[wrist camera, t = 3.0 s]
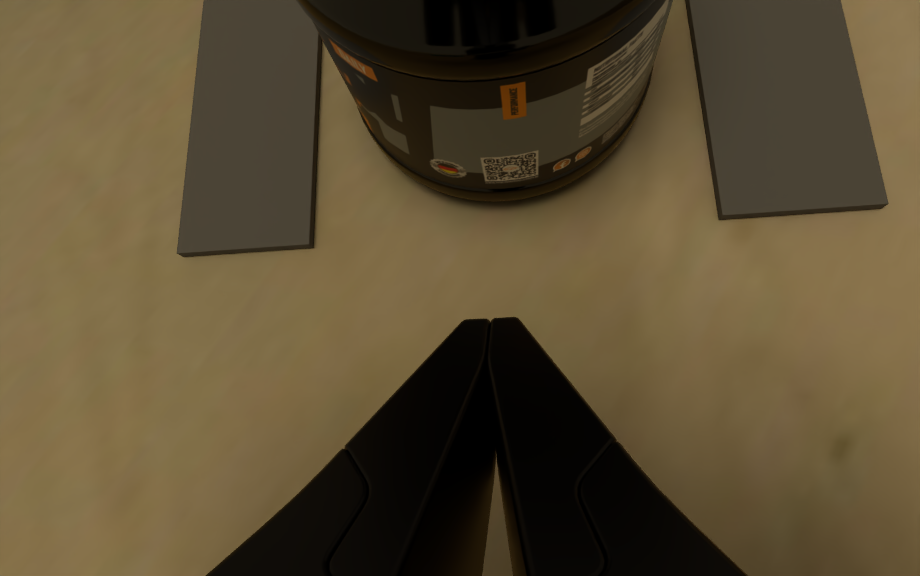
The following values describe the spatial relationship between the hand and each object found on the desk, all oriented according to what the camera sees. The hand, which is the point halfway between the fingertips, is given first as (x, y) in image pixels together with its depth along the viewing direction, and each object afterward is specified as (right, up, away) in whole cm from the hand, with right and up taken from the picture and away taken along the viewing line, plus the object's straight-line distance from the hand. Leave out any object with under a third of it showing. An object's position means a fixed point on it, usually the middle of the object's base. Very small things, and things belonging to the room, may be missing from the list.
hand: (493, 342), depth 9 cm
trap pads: (+1, +8, +12) cm, 15 cm away
